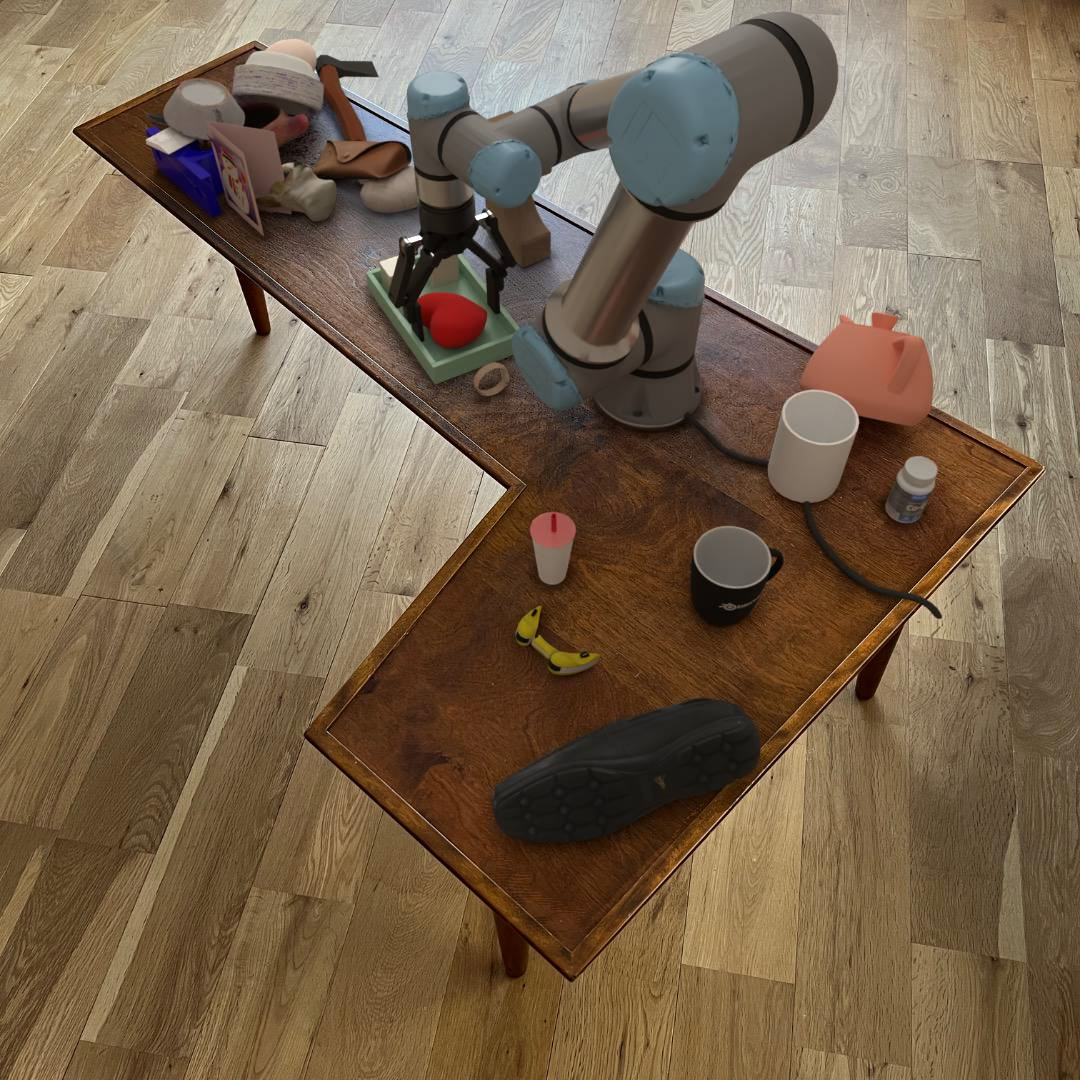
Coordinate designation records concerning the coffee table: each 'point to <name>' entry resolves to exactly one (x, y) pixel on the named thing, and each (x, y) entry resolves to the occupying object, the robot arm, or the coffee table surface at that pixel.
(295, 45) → the egg
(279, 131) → the bowl
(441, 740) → the coffee table surface
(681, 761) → the loafer
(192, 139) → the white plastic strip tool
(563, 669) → the yellow curved segmented toy
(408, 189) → the decorative stone
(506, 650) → the coffee table surface
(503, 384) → the beige ring band
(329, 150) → the sunglasses case
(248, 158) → the greeting card
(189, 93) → the bowl
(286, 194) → the ceramic sculpture
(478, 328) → the heart
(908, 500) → the pill bottle
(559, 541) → the cup
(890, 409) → the teapot
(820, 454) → the mug
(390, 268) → the beige short block
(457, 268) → the cream block
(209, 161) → the mounting bracket
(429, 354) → the ornament tray
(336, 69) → the hand axe
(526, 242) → the decorative block
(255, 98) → the paper bowls
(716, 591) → the mug
